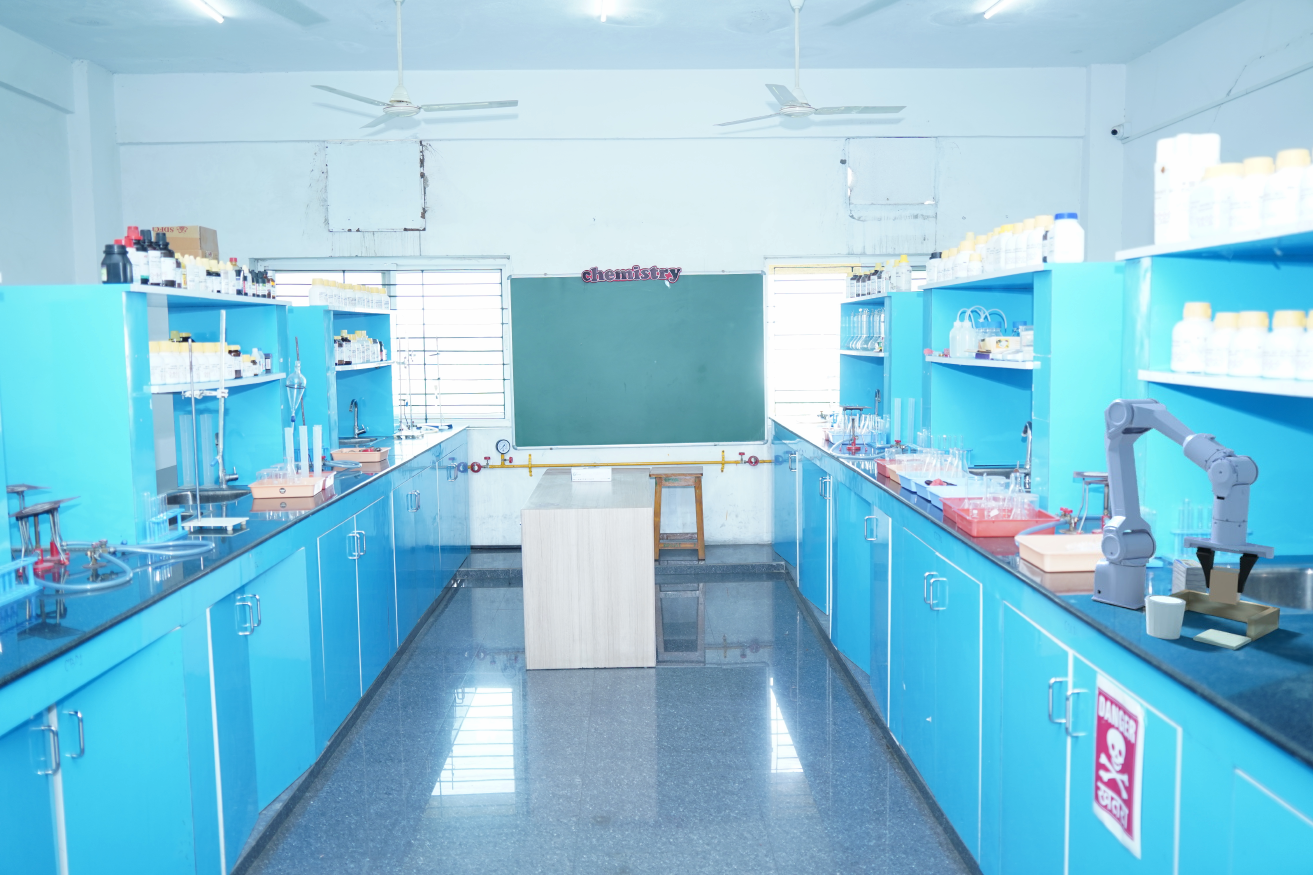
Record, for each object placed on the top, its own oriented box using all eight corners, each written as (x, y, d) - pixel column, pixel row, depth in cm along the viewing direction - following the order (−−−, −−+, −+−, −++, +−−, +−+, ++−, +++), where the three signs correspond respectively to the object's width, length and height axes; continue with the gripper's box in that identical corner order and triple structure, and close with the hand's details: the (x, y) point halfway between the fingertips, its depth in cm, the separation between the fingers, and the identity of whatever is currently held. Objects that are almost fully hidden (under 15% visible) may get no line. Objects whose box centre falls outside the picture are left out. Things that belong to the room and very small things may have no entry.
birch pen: (1156, 618, 186) (1157, 599, 186) (1184, 607, 194) (1185, 588, 194) (1253, 640, 172) (1254, 620, 172) (1278, 627, 181) (1280, 608, 180)
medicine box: (1206, 607, 194) (1209, 567, 193) (1183, 606, 195) (1186, 566, 194) (1192, 597, 202) (1195, 559, 201) (1170, 596, 203) (1173, 558, 202)
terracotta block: (1208, 600, 175) (1210, 569, 174) (1213, 595, 178) (1215, 565, 178) (1235, 604, 172) (1238, 573, 171) (1240, 600, 175) (1242, 569, 175)
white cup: (1191, 639, 173) (1194, 603, 172) (1156, 640, 172) (1159, 604, 172) (1169, 628, 180) (1171, 593, 179) (1135, 629, 179) (1137, 594, 178)
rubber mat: (1193, 639, 173) (1193, 636, 173) (1210, 631, 178) (1210, 628, 178) (1234, 649, 167) (1234, 646, 167) (1251, 641, 172) (1251, 637, 172)
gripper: (1278, 521, 172) (1273, 592, 173) (1190, 511, 181) (1186, 578, 182) (1273, 526, 166) (1267, 599, 168) (1182, 516, 176) (1178, 585, 177)
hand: (1224, 589), depth 175 cm, fingers closed on terracotta block, 4 cm apart
